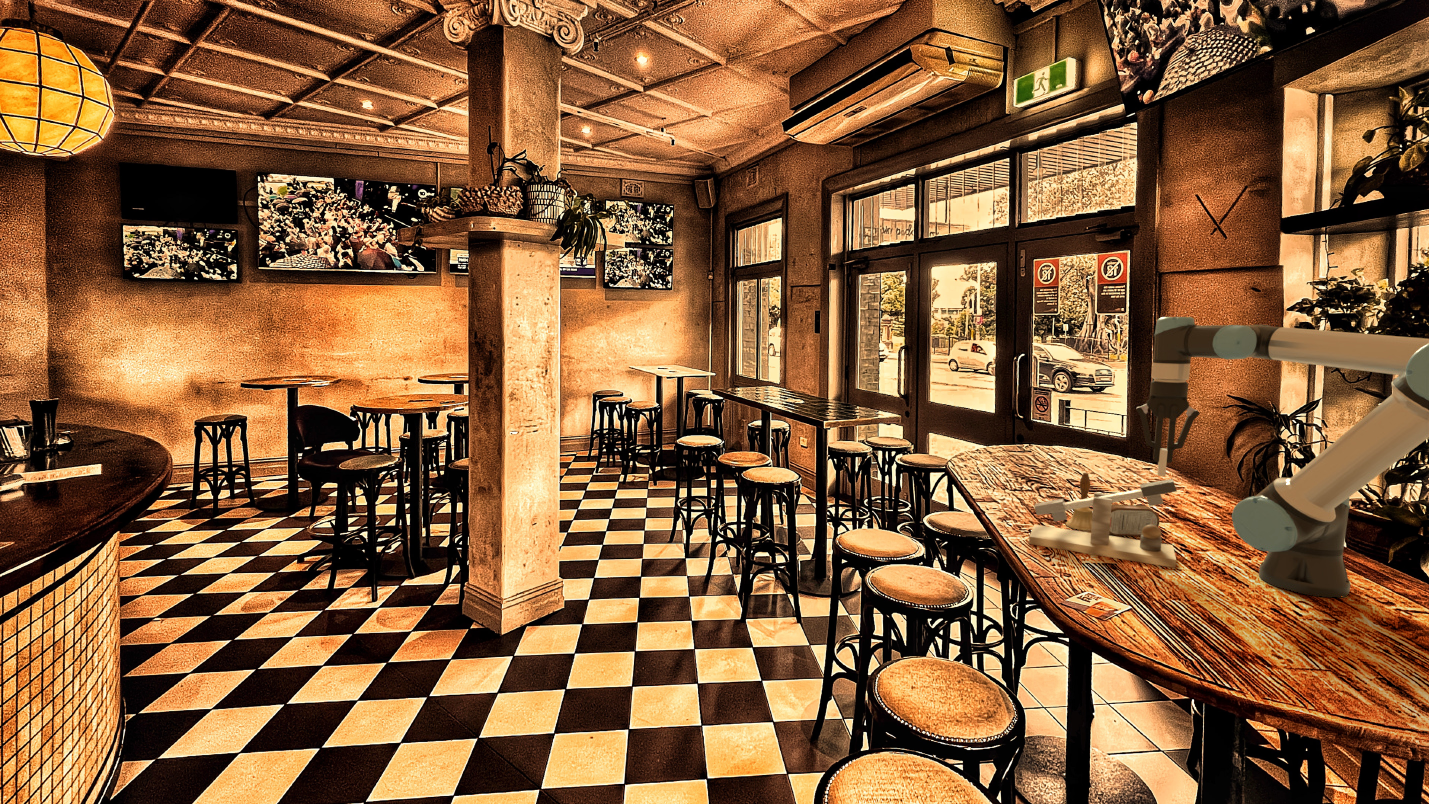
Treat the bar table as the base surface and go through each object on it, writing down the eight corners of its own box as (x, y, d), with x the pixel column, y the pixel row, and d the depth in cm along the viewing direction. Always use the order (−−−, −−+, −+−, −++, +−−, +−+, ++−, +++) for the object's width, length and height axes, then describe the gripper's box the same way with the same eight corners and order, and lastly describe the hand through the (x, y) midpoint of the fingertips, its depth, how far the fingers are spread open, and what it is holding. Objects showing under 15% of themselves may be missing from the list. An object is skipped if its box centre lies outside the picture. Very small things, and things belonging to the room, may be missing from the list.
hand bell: (1103, 532, 180) (1107, 477, 178) (1071, 530, 182) (1075, 475, 180) (1092, 523, 188) (1096, 470, 186) (1061, 521, 190) (1065, 469, 188)
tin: (1153, 534, 178) (1156, 504, 177) (1160, 537, 175) (1162, 508, 174) (1097, 532, 180) (1099, 503, 179) (1102, 536, 177) (1104, 506, 176)
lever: (1179, 498, 158) (1172, 478, 159) (1180, 501, 155) (1173, 481, 156) (1041, 520, 176) (1035, 503, 176) (1040, 524, 173) (1034, 506, 173)
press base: (1172, 552, 164) (1176, 499, 162) (1175, 567, 154) (1180, 511, 152) (1033, 531, 181) (1036, 483, 179) (1028, 543, 171) (1032, 492, 169)
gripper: (1201, 380, 155) (1192, 475, 158) (1137, 378, 162) (1129, 468, 165) (1204, 383, 149) (1195, 481, 152) (1138, 380, 156) (1130, 474, 159)
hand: (1161, 474), depth 158 cm, fingers closed
